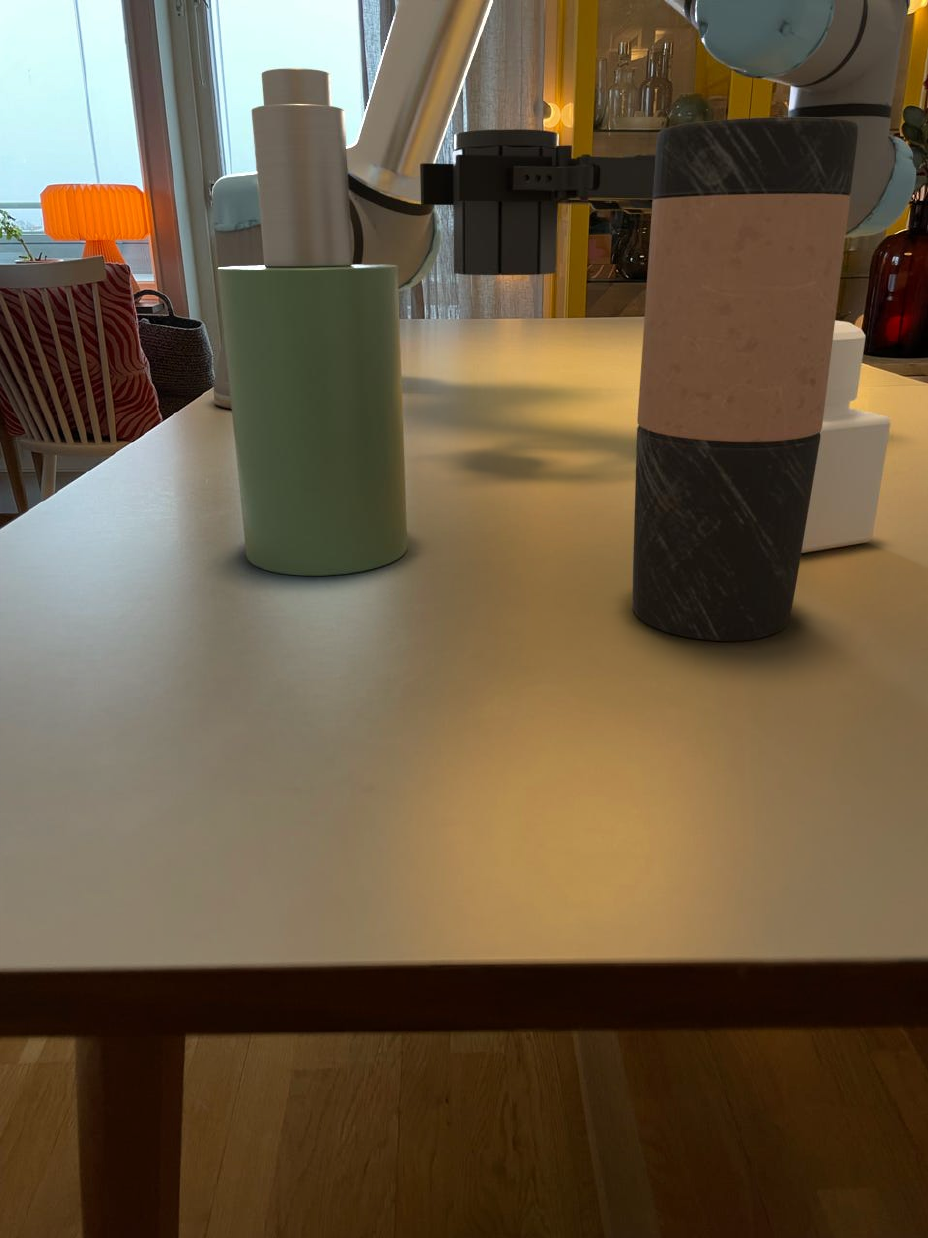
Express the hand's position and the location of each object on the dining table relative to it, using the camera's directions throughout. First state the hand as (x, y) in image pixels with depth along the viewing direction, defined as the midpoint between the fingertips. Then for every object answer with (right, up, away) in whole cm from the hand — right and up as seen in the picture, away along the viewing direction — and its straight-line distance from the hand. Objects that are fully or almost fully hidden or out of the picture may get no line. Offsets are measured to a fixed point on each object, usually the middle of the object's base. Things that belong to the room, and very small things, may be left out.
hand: (439, 181), depth 64 cm
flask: (-6, -26, -11) cm, 29 cm away
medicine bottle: (+20, -25, -9) cm, 34 cm away
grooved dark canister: (+5, -5, +4) cm, 8 cm away
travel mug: (+13, -30, -21) cm, 39 cm away
